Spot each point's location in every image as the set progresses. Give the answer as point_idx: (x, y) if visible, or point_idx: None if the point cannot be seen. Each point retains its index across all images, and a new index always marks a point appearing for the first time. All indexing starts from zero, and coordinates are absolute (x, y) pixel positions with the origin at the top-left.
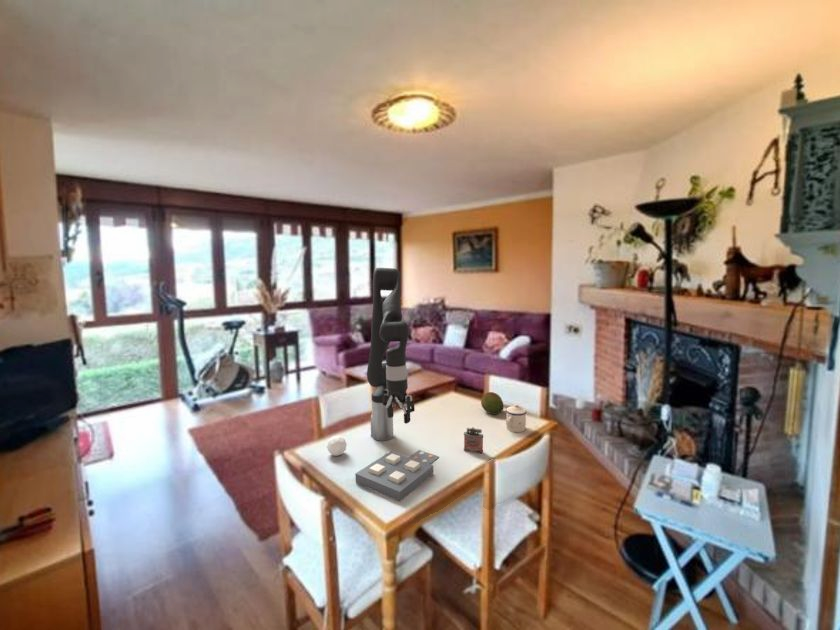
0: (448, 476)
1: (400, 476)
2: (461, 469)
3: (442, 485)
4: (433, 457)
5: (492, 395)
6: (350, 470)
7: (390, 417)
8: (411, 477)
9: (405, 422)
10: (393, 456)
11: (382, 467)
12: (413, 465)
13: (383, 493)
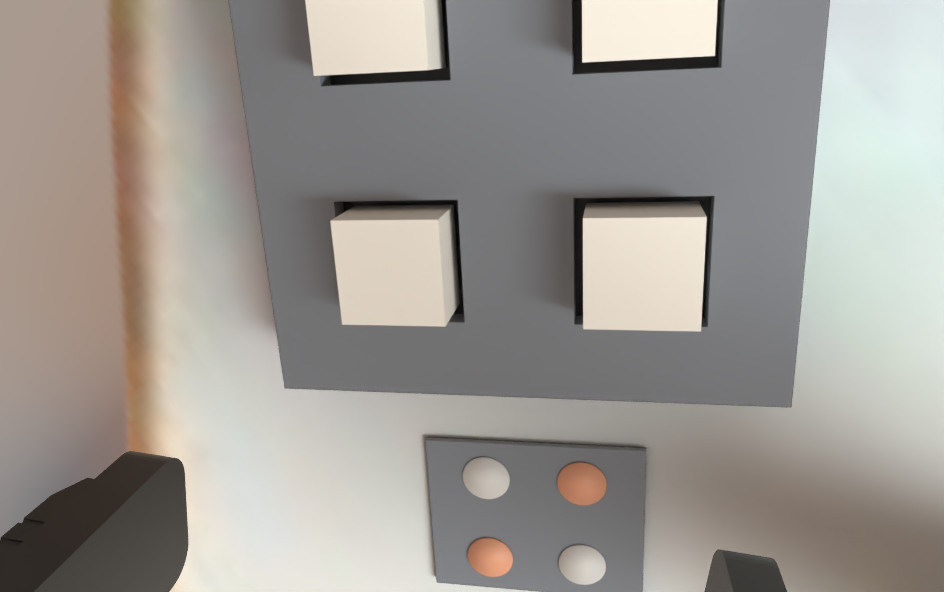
0: (219, 389)
1: (317, 8)
2: (212, 508)
3: (173, 268)
4: (463, 552)
5: None
6: None
7: (711, 579)
8: (293, 119)
9: (120, 459)
10: (645, 287)
11: (594, 28)
12: (359, 255)
13: None
